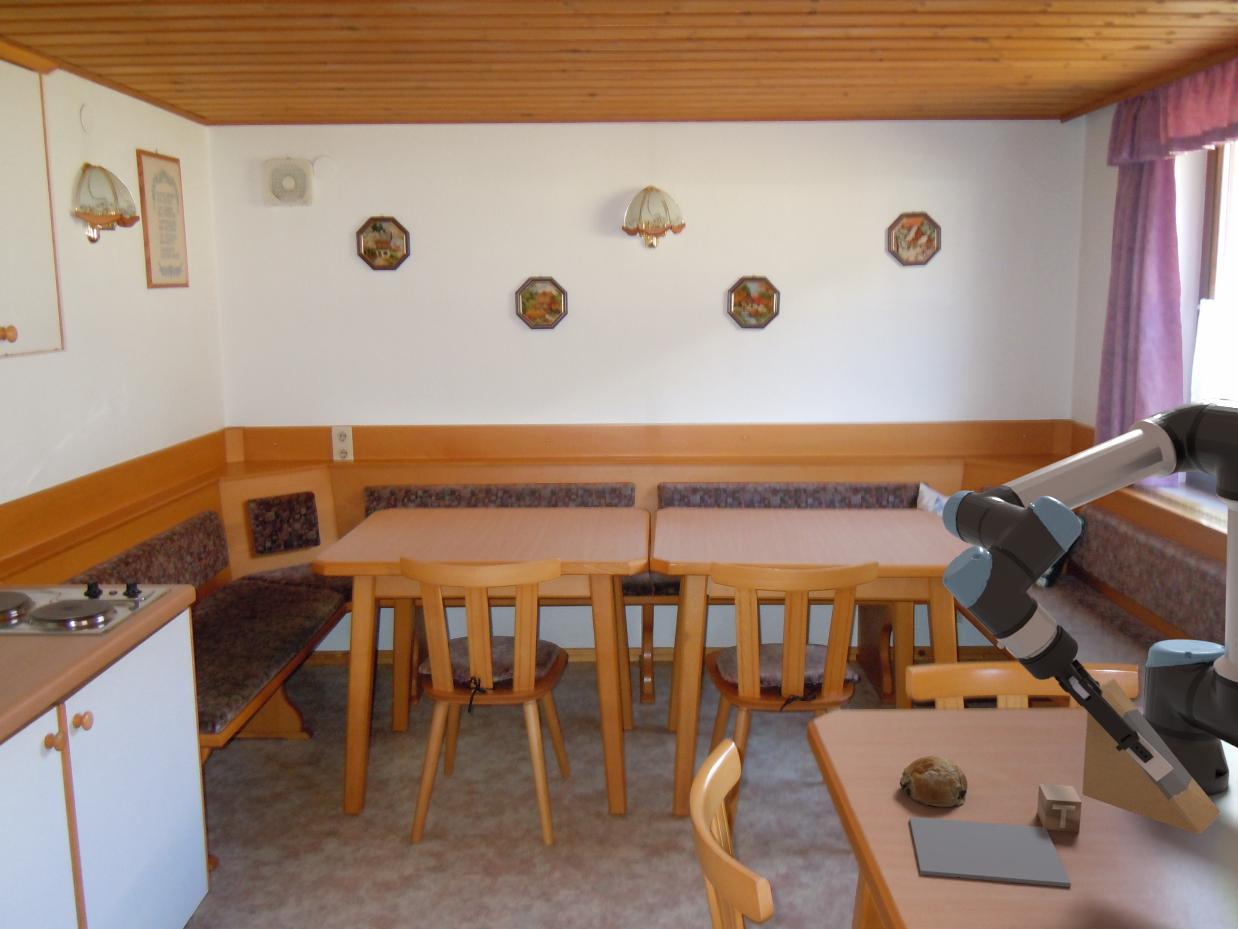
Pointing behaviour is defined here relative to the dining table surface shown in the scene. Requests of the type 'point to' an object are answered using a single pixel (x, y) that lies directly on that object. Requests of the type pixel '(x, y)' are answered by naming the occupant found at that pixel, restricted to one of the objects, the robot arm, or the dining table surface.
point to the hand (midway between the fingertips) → (1149, 753)
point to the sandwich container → (1141, 773)
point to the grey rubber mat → (987, 851)
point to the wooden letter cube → (1059, 807)
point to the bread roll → (935, 782)
